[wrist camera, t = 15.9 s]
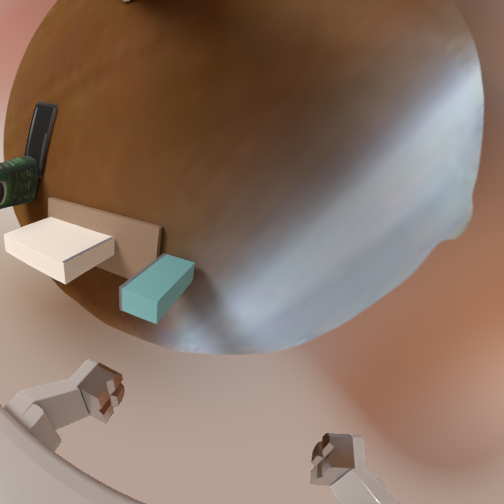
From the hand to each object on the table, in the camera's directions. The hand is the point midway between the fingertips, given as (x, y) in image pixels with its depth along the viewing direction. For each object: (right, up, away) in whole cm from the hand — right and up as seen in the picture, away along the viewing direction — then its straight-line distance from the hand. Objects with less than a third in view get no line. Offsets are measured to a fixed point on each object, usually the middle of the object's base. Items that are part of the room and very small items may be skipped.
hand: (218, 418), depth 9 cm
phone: (-41, +29, +29) cm, 57 cm away
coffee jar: (-44, +21, +32) cm, 59 cm away
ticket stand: (-25, +9, +33) cm, 42 cm away
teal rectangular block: (-9, +4, +30) cm, 32 cm away
